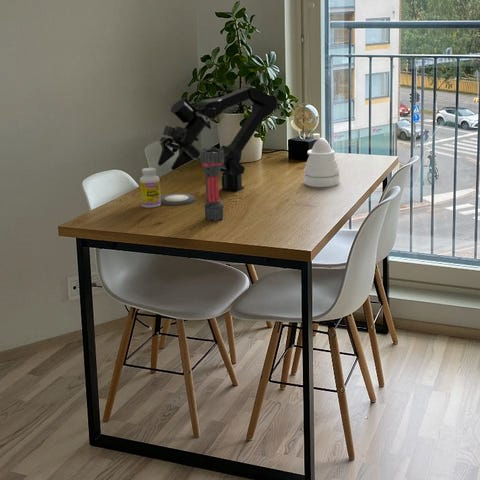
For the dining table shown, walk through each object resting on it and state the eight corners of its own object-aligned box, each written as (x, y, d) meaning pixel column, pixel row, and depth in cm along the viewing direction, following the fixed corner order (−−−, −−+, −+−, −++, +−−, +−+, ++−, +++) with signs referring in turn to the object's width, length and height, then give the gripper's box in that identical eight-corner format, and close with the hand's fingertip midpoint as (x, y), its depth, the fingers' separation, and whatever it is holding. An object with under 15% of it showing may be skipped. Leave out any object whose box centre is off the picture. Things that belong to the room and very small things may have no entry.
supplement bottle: (145, 209, 299) (143, 172, 295) (138, 205, 305) (136, 168, 301) (164, 206, 302) (161, 169, 298) (156, 202, 308) (154, 166, 304)
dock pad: (202, 197, 311) (202, 195, 311) (182, 207, 300) (182, 204, 300) (171, 194, 317) (171, 192, 317) (150, 203, 307) (150, 200, 306)
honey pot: (299, 185, 323) (299, 137, 318) (310, 177, 334) (310, 130, 329) (333, 188, 318) (333, 138, 313) (343, 179, 330) (343, 131, 324)
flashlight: (218, 224, 280) (215, 152, 273) (198, 221, 284) (194, 150, 277) (231, 217, 286) (229, 147, 279) (211, 214, 290) (208, 146, 283)
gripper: (162, 113, 308) (136, 149, 306) (190, 120, 294) (163, 157, 291) (183, 133, 315) (158, 168, 312) (211, 140, 300) (185, 177, 298)
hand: (165, 167), depth 303 cm, fingers open, 9 cm apart
